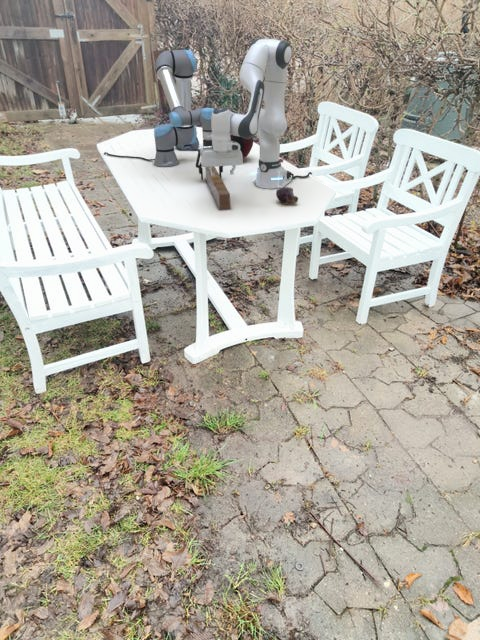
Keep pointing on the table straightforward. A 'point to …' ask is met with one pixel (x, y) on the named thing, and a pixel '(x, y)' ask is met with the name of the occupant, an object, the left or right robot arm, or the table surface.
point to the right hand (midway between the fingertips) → (222, 174)
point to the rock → (286, 195)
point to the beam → (218, 189)
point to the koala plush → (189, 146)
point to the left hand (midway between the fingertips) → (211, 178)
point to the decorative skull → (243, 144)
